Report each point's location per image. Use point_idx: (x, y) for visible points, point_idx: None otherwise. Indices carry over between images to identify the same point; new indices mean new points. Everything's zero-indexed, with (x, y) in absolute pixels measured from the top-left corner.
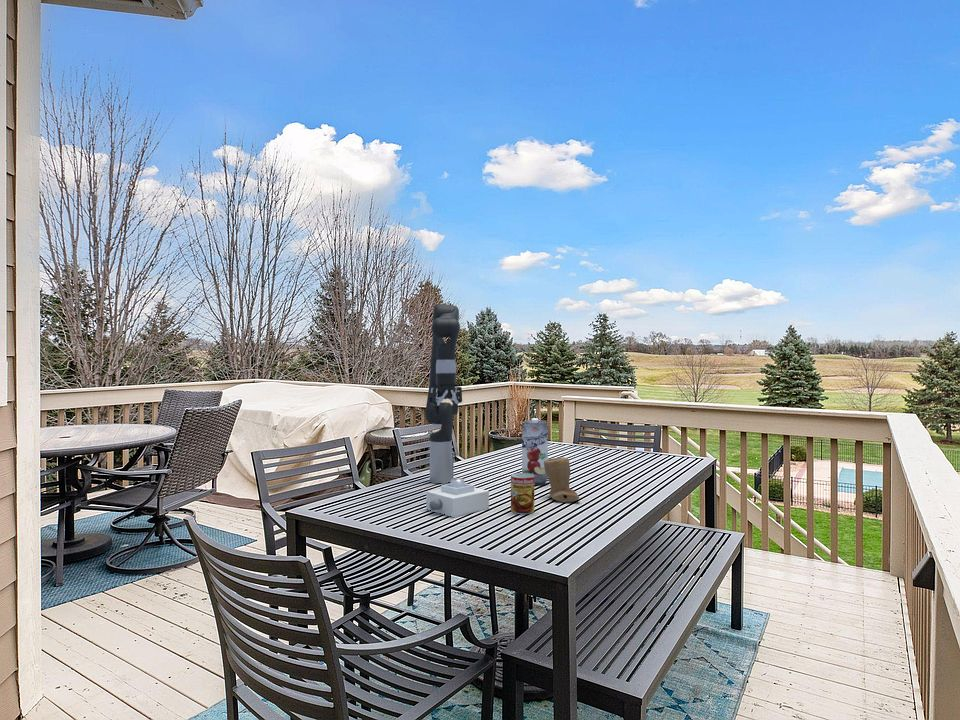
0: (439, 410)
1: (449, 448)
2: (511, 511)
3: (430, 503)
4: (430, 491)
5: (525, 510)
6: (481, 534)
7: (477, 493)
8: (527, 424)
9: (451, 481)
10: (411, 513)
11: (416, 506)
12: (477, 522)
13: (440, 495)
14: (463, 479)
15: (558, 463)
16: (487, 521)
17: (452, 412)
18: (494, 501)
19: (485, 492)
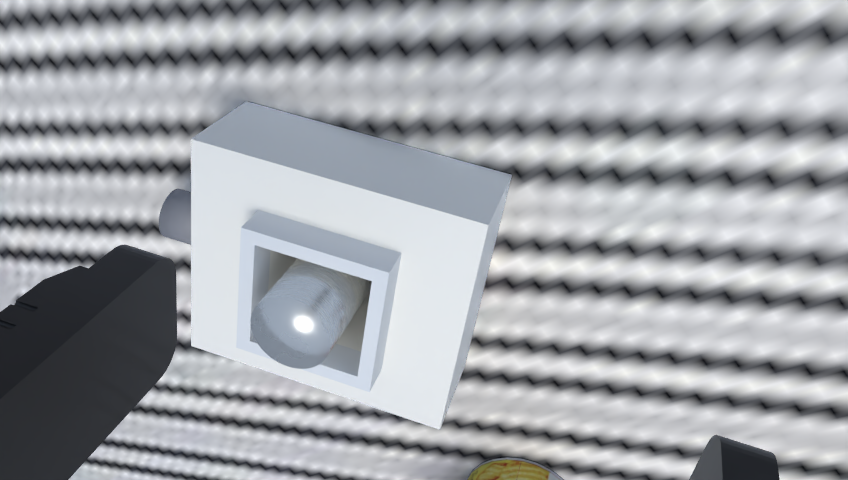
0: (86, 445)
1: None
2: (478, 466)
3: (167, 202)
4: (209, 160)
5: None
6: (165, 459)
7: (353, 400)
8: None
9: (256, 305)
10: (143, 83)
11: (250, 6)
12: (255, 402)
13: (192, 257)
14: (313, 364)
15: None
16: (292, 428)
17: (712, 472)
18: (622, 336)
19: (414, 417)
